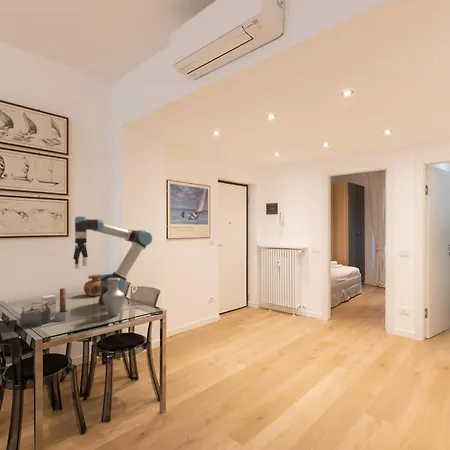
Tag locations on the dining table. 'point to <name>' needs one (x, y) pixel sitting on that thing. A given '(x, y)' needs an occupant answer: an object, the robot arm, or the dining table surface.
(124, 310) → the dining table surface
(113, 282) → the vase
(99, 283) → the clay pot
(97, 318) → the dining table surface
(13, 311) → the dining table surface
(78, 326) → the dining table surface
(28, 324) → the grey clear-topped case
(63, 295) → the stylus
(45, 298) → the ink box
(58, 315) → the pen cup
